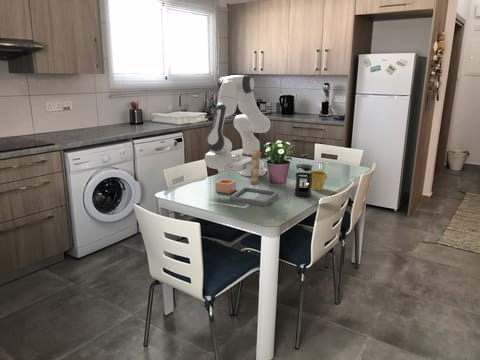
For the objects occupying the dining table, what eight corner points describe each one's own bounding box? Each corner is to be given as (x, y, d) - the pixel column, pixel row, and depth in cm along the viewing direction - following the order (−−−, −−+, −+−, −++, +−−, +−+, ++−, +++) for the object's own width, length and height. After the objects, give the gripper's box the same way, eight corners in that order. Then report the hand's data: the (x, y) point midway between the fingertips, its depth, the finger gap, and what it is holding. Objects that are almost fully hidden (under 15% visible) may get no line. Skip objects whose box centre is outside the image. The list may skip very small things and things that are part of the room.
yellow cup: (323, 186, 238) (324, 170, 236) (327, 191, 228) (329, 175, 226) (306, 186, 238) (307, 170, 235) (309, 191, 228) (311, 174, 225)
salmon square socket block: (222, 188, 229) (222, 178, 228) (235, 190, 226) (235, 180, 224) (215, 192, 222) (215, 182, 220) (229, 194, 219) (229, 184, 217)
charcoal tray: (244, 191, 226) (244, 186, 225) (277, 196, 218) (278, 191, 217) (229, 201, 208) (229, 196, 207) (265, 206, 200) (265, 202, 200)
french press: (302, 199, 213) (305, 157, 207) (289, 195, 220) (291, 154, 214) (316, 195, 221) (319, 154, 215) (303, 191, 228) (305, 151, 222)
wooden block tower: (252, 182, 213) (253, 149, 209) (259, 183, 212) (260, 150, 207) (249, 184, 210) (250, 151, 205) (256, 185, 208) (257, 151, 204)
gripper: (224, 160, 203) (249, 163, 198) (240, 153, 221) (263, 156, 216) (224, 172, 205) (248, 175, 199) (240, 164, 223) (263, 167, 217)
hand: (256, 165), depth 208 cm, fingers closed on wooden block tower, 4 cm apart
